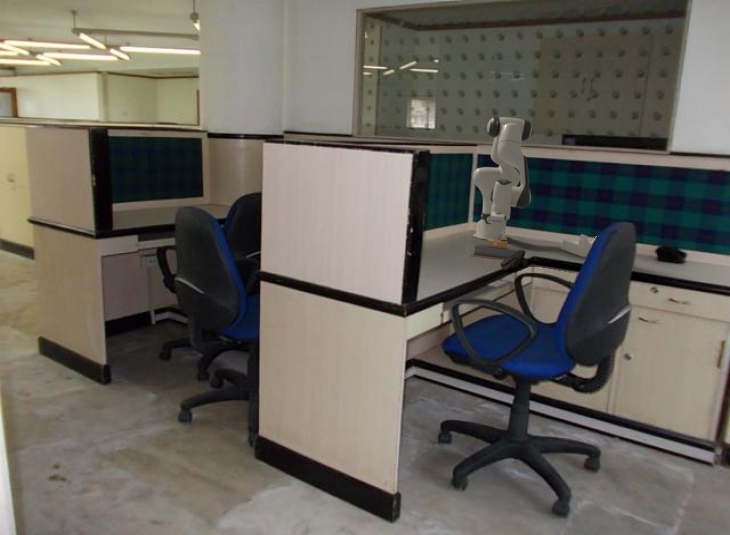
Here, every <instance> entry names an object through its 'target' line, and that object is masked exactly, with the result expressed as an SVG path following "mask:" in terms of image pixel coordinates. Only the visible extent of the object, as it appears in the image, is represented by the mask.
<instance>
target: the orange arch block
mask: <svg viewBox="0 0 730 535" xmlns="http://www.w3.org/2000/svg"><path fill="white" fill-rule="evenodd" d="M493 243H494V240H490V239H489V240H487V242H486V245H487V246H488V247H496V248H503V249H506V248H507V247H508V243H509V242H508V240H501V241H499V240H498V245H493Z"/></svg>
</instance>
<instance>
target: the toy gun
mask: <svg viewBox="0 0 730 535" xmlns="http://www.w3.org/2000/svg"><path fill="white" fill-rule="evenodd" d="M525 256H526V251H525V249H521V248H519V251H517V252H516V253H514V254H513V255H512V256H510V257H509V258H507V259H506V260H502V261H501V262H500V267H501V270H503V271H507V270H510V268H514V267H515V268H516V267H518V266H520V267H521V268H525V267H526V266H527V265H528V261H529V260H528V258H527V257H525Z"/></svg>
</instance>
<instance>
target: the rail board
mask: <svg viewBox="0 0 730 535" xmlns="http://www.w3.org/2000/svg"><path fill="white" fill-rule="evenodd" d="M519 250H520V248H518V247H517V248H516V247H509V246H507V248H506V249H503V248H496V247H488V246H487V244H482V243H477V244H474V251H473V252H472V253H471V254H470V257H471V256H472V257H477V258H478V257H479V258H484V259H491V260H492V259H494V260H498V261H499V260H501V261H504V260H506V259H507V258H509V257H510V256H512V255H513V254H514V253H516V252H517V251H519Z"/></svg>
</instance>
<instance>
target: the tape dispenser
mask: <svg viewBox="0 0 730 535" xmlns="http://www.w3.org/2000/svg"><path fill="white" fill-rule="evenodd" d="M596 237H597V236H595V238H596ZM595 238H594V239H593V240H592V241H588V235H586V234H582V233H581V234H580V236H579V241H575V240H568V239H562V243H561V248H560V249H561V250H563V251H566V252H569V253H571V254H574V255H576V256H578V257H584V258H587V257H586V254H587V253H588V251H589V249H590V247H591V245H592V243H593V241H594V240H595Z"/></svg>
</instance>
